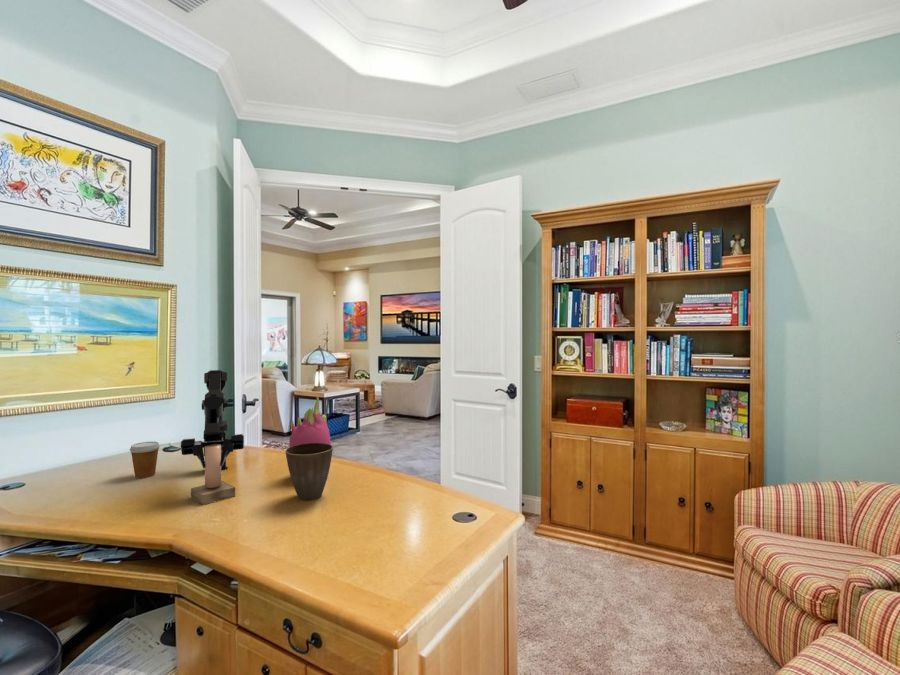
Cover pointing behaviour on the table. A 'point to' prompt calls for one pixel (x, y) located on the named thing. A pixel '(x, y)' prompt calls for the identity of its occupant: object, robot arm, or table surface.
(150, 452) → the disposable coffee cup
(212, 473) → the pillar
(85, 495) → the table surface
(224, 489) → the base
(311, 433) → the pink dragon fruit
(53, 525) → the table surface
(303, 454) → the plant pot
